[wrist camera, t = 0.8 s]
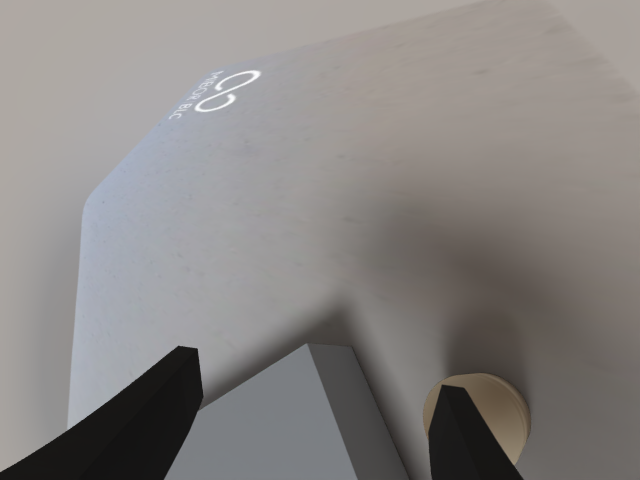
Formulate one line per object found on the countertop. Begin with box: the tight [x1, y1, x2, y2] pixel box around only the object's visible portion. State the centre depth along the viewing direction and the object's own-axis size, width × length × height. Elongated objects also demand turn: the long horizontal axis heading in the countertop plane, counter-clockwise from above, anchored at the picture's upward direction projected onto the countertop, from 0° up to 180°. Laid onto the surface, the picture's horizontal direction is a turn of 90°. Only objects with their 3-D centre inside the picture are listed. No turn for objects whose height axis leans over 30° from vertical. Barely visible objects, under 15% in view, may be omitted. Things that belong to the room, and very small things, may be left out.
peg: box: [423, 373, 531, 465], centre depth 18 cm, size 4×4×5 cm
